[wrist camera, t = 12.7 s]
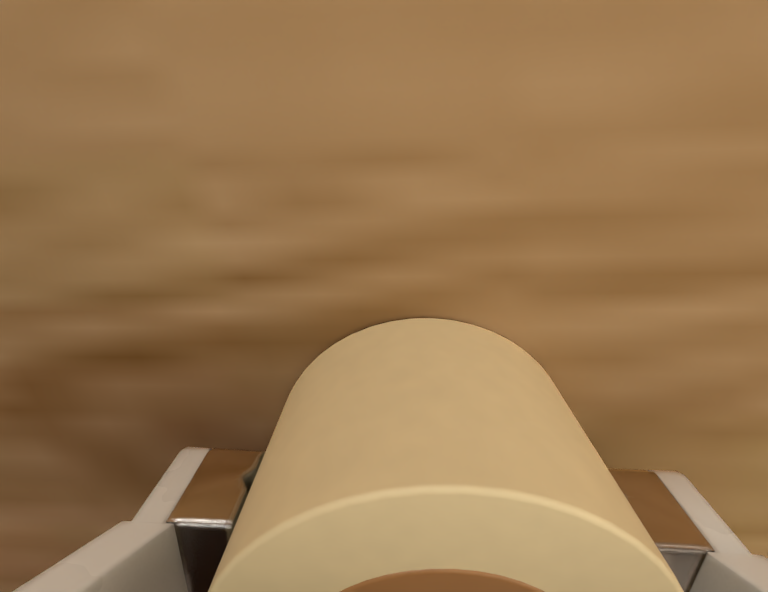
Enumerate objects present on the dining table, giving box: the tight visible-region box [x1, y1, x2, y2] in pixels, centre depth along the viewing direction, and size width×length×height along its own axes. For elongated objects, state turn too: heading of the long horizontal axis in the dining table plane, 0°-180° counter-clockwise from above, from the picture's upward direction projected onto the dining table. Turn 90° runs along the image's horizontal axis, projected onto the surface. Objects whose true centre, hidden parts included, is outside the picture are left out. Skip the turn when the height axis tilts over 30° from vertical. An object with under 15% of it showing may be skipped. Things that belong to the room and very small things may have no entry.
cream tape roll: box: [208, 318, 684, 592], centre depth 7 cm, size 6×6×4 cm
